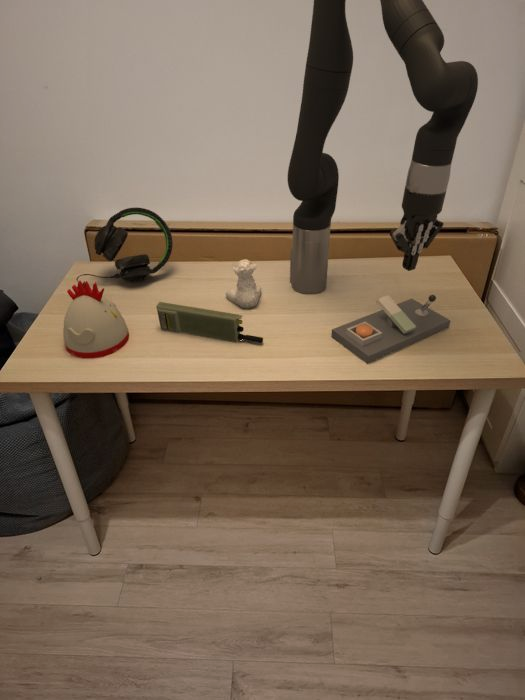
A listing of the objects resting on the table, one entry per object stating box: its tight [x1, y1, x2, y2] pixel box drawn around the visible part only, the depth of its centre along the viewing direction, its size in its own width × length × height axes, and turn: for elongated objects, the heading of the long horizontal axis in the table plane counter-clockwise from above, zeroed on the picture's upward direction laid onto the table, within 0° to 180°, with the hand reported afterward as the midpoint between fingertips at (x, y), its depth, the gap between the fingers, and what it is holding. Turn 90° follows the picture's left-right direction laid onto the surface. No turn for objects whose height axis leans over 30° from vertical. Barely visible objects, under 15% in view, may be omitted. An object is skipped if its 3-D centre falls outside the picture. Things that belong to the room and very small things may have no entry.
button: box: [356, 324, 373, 339], centre depth 105 cm, size 4×4×2 cm
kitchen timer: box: [62, 280, 130, 359], centre depth 105 cm, size 14×14×15 cm
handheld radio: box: [156, 301, 264, 344], centre depth 108 cm, size 7×3×25 cm
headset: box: [75, 206, 174, 288], centre depth 127 cm, size 18×14×29 cm
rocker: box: [375, 294, 416, 334], centre depth 107 cm, size 10×3×1 cm, turn 32°
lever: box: [421, 294, 437, 312], centre depth 110 cm, size 2×2×6 cm
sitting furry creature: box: [225, 258, 262, 309], centre depth 119 cm, size 10×9×12 cm
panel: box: [330, 297, 452, 365], centre depth 109 cm, size 12×25×4 cm, turn 122°
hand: (408, 268), depth 100 cm, fingers closed
